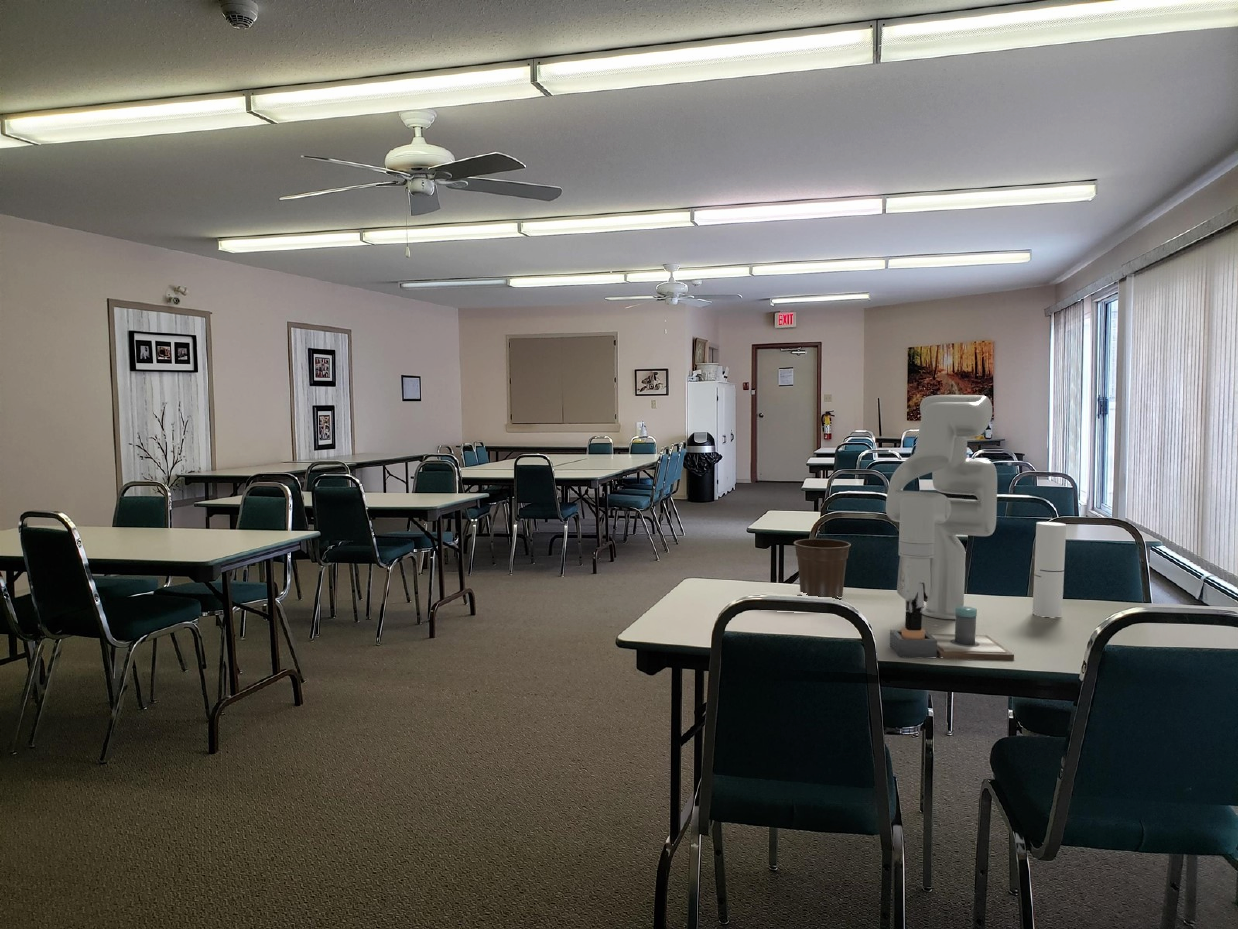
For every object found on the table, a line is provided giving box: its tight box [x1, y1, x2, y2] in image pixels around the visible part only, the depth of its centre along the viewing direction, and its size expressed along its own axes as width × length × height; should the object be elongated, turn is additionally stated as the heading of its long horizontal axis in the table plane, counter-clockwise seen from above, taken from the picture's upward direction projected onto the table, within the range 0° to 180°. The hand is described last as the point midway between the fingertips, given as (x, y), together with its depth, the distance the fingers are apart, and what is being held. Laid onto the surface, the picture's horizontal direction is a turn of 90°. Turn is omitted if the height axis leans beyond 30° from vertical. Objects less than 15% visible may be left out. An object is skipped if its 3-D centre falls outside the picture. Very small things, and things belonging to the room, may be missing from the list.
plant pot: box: [793, 538, 852, 600], centre depth 246 cm, size 16×16×16 cm
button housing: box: [889, 629, 938, 658], centre depth 191 cm, size 8×8×4 cm
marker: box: [954, 605, 978, 645], centre depth 194 cm, size 5×5×8 cm
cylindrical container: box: [1032, 521, 1067, 617], centre depth 227 cm, size 7×7×25 cm
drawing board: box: [929, 633, 1015, 661], centre depth 195 cm, size 16×16×2 cm
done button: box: [901, 626, 926, 639], centre depth 191 cm, size 5×5×4 cm
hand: (913, 629), depth 191 cm, fingers closed
